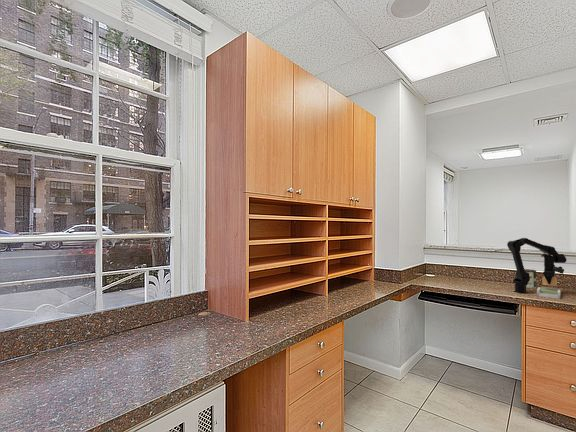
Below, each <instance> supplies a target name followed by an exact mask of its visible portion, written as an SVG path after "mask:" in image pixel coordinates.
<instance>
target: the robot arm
mask: <svg viewBox="0 0 576 432" xmlns="http://www.w3.org/2000/svg"><path fill="white" fill-rule="evenodd" d="M525 245H527V246H530V247H533V248H535V249H537V250H539V251H540V252H542V254H541V255H540V257H542V258H543V267H544V269H543V272H542V273H543V277H544V276H545V278H546V280H547V282H548V284H551V279H552V277H555V274H556V272H557V273H559V274H561V275H562V274H564V272H565V268H563V266H556V265H555V264H566V263H567V261H568V260H567V257H566V256H565V254H564V253H559V252H557V250H556V248H555V247H554V246H551V245H545V244H541V243H539V242H537V241H534V240H532V239H529V238H527V237H522V238H518V239H515V240H509V241H507V243H506V246H507V248H508V250H509V251H510V252H511V255H512V257H513V261H514V265H515V269H516V274H515V277H514V278H513V280H512V282H513V284H514V290H513V292H514V293H519V294H528V292H527V288H526V285H528V282H529V281H530V276H529V273H528V272H526V271H525V270H524V269H525V267H524V262H523V260H522V255H521V249H522V246H525Z"/></svg>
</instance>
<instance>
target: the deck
mask: <svg viewBox="0 0 576 432" xmlns="http://www.w3.org/2000/svg"><path fill="white" fill-rule="evenodd" d="M561 294H562V289H561V288H556V287H555V288H554V287H545V286H538V287H537V289H536V296H537V297H544V298H551V299H552V298H553V299H559V300H561V296H562V295H561Z"/></svg>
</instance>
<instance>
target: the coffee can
mask: <svg viewBox="0 0 576 432" xmlns="http://www.w3.org/2000/svg"><path fill="white" fill-rule="evenodd" d="M524 270H525V271H526V272H528V273H529V276H530V281H529V282H528V285H526V289H528V288H529V289H536V288H537V289H538V287H537V269H527V268H524Z"/></svg>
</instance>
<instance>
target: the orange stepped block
mask: <svg viewBox="0 0 576 432" xmlns="http://www.w3.org/2000/svg"><path fill="white" fill-rule="evenodd" d="M541 281H542V286H550V287H558V280H557V277H556V276H553V277H552V279H551V284H548V282H547V280H546V278H545V276H544V275H543V277H542V280H541Z"/></svg>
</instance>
